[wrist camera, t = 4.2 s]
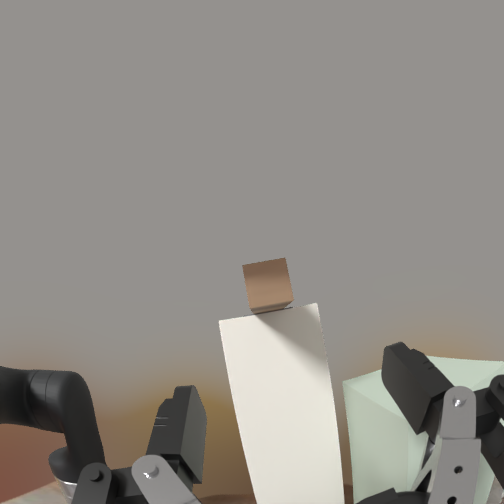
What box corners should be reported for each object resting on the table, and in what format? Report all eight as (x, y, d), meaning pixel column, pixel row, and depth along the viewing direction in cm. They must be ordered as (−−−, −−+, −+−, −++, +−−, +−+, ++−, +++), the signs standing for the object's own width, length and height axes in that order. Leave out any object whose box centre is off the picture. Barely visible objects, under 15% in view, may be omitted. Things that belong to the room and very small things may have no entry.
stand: (346, 549, 17) (316, 301, 27) (274, 563, 16) (218, 319, 27) (330, 510, 28) (300, 309, 38) (272, 521, 28) (231, 321, 38)
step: (459, 561, 4) (507, 361, 12) (382, 600, 4) (407, 421, 11) (415, 517, 18) (419, 355, 26) (354, 542, 18) (342, 381, 25)
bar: (293, 300, 18) (285, 257, 19) (249, 308, 18) (242, 265, 19) (275, 314, 41) (272, 295, 42) (256, 318, 41) (253, 299, 42)
